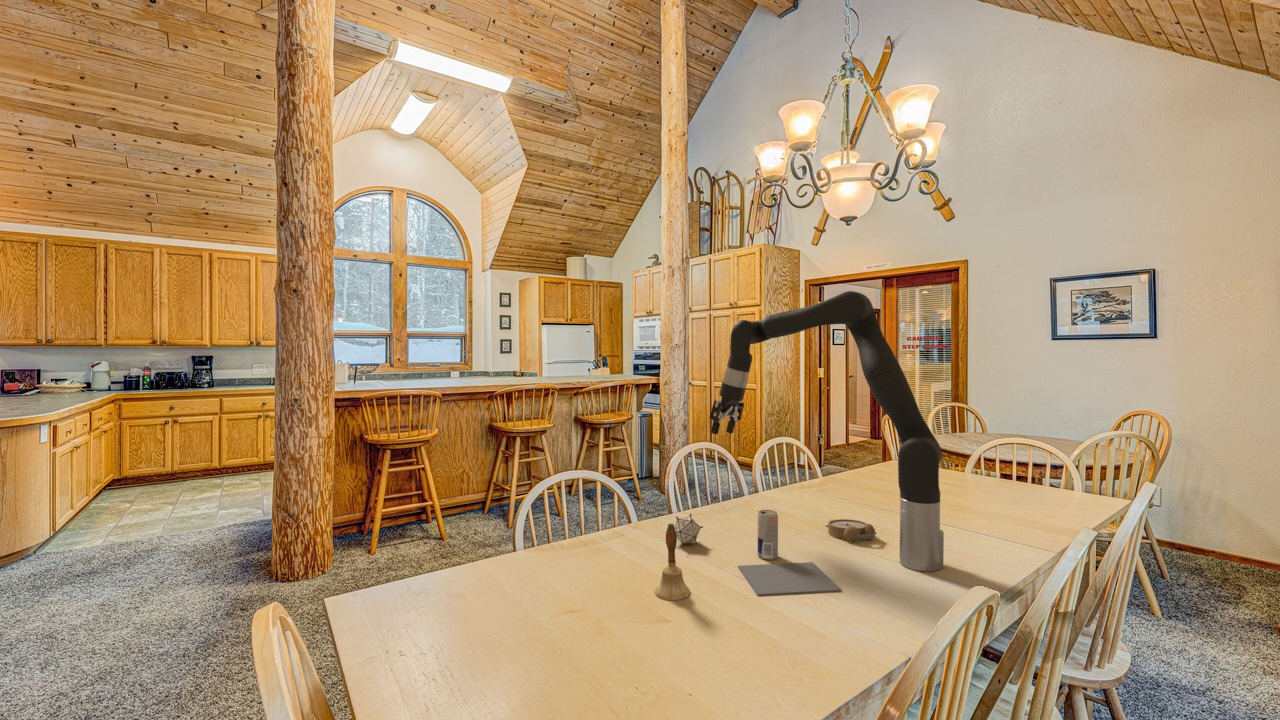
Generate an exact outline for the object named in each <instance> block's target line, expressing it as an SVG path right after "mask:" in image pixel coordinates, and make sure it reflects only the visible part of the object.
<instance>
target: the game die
mask: <svg viewBox="0 0 1280 720" xmlns="http://www.w3.org/2000/svg"><path fill="white" fill-rule="evenodd" d="M675 519H676V522H675V525H674V528H675V531H676V534H677V541H679V542H680V543H681V547H684V544H685V545H686V544H689V543H695V544H696V543H697V544H698V542H697V538H698V536H699V533H700V530H701V529H703V528H704V526H703V525H701V526H700V525H699V524H698V523H697V522H696V521H695V519H694V518H693V517H692V513H689V516H685V517H678V516H675Z"/></svg>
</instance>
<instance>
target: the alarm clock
mask: <svg viewBox="0 0 1280 720" xmlns="http://www.w3.org/2000/svg"><path fill="white" fill-rule="evenodd" d="M825 528H828V529H827V530H828V534H829V536H831V537H832V538H833V537H834V538H837V539H841V540H842V539H843V540H845V541H847V542H848V543H851V544H852V543H858V542H859V541H860V540H861V539H862V540H863V539H864V540H866V541H872V540H873V539H874V538H875V535H877V532H876V529H875V527H874V526H873V525H872V524H871V523H866V522H865V521H863V520H862V521H861V520H858V519H857V520H856V519H850V518H849V519H847V518H845V519H844V518H843V519H842V518H840V519H831V520H829V521H828V522H827V524H826V525H825Z"/></svg>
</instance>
